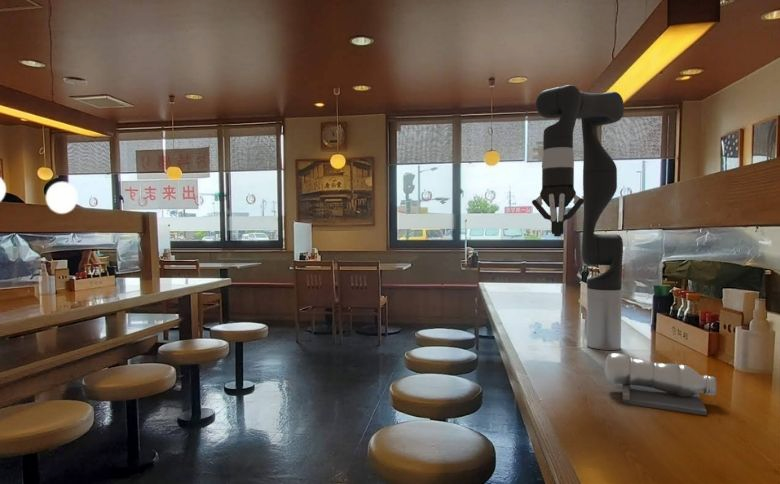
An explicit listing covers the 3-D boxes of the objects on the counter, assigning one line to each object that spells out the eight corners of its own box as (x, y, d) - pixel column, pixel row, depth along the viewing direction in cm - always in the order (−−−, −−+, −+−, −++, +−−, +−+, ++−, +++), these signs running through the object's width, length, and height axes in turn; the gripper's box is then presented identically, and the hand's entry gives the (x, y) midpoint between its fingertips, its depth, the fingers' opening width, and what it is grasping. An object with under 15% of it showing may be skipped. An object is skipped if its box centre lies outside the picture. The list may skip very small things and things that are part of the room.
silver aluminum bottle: (603, 368, 105) (708, 388, 97) (602, 387, 99) (714, 410, 91) (606, 344, 102) (714, 362, 94) (605, 363, 97) (720, 384, 89)
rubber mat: (622, 381, 106) (622, 373, 106) (695, 390, 100) (695, 382, 100) (622, 403, 93) (622, 394, 93) (706, 415, 87) (706, 405, 87)
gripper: (587, 167, 117) (586, 236, 118) (533, 170, 123) (533, 236, 124) (585, 164, 111) (584, 236, 111) (528, 167, 116) (527, 236, 117)
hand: (557, 236), depth 117 cm, fingers closed
